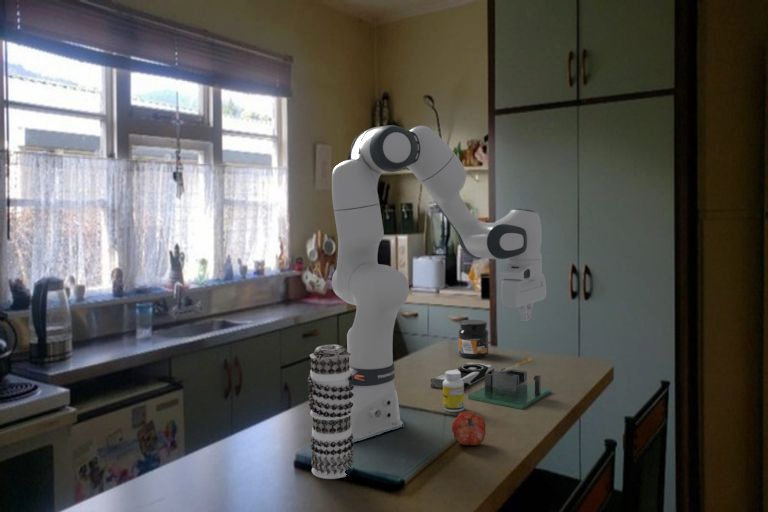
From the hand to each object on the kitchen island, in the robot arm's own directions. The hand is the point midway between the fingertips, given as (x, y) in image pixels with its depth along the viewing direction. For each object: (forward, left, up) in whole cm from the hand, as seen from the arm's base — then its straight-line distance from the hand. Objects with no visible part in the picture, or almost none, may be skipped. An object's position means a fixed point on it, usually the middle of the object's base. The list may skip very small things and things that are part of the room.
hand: (525, 320), depth 167 cm
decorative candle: (-65, +11, -22) cm, 70 cm away
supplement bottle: (-19, +11, -22) cm, 31 cm away
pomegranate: (-37, -4, -22) cm, 43 cm away
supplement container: (+35, +36, -22) cm, 55 cm away
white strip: (0, +4, -14) cm, 15 cm away
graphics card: (+6, +23, -22) cm, 32 cm away
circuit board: (0, +5, -21) cm, 22 cm away
